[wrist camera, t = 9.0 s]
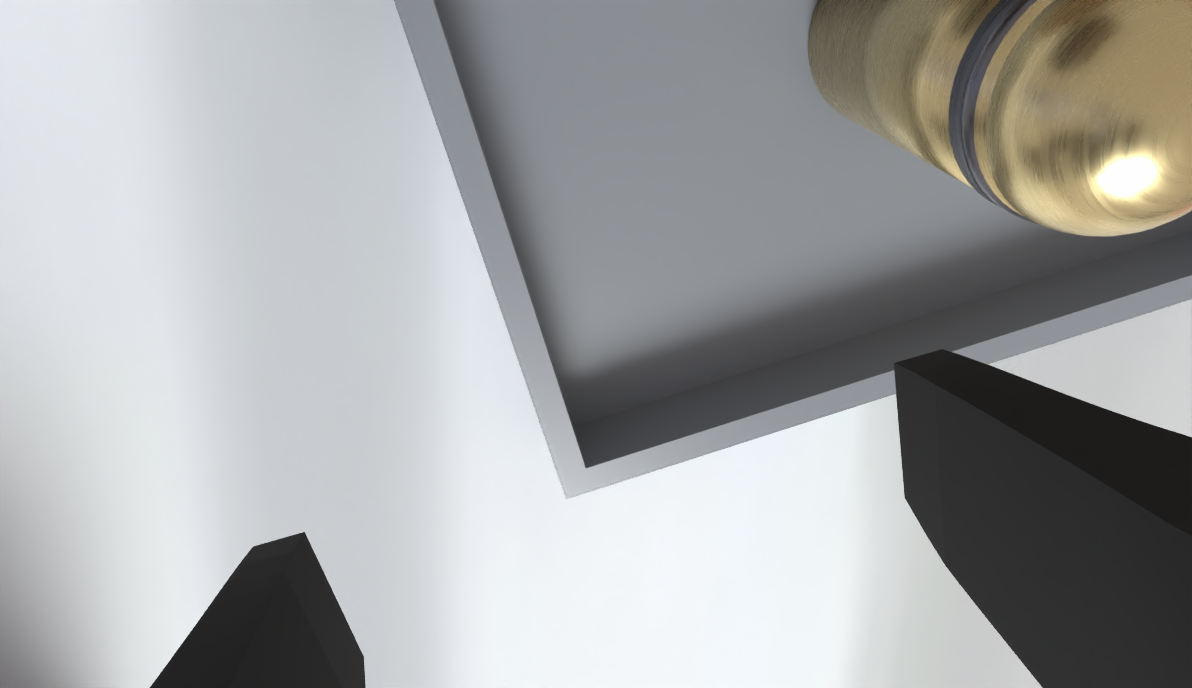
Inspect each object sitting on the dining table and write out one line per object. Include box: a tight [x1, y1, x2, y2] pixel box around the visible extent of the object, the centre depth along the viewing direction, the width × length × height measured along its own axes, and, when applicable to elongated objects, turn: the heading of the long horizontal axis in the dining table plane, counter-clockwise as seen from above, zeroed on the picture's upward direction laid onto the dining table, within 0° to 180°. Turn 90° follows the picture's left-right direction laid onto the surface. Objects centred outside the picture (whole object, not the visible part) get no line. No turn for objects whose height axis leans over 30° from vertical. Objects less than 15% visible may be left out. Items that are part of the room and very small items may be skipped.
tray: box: [394, 0, 1192, 499], centre depth 18 cm, size 18×14×2 cm
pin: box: [808, 0, 1192, 236], centre depth 15 cm, size 4×4×8 cm
